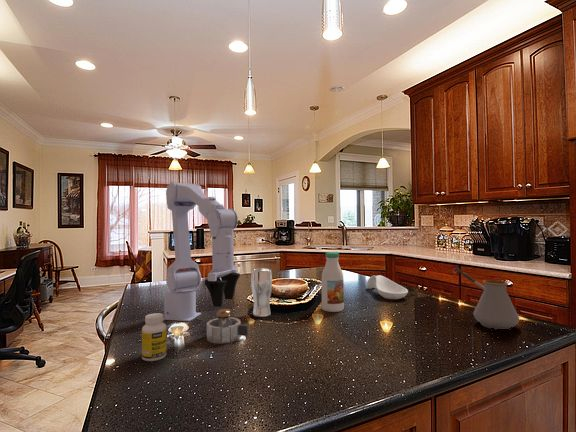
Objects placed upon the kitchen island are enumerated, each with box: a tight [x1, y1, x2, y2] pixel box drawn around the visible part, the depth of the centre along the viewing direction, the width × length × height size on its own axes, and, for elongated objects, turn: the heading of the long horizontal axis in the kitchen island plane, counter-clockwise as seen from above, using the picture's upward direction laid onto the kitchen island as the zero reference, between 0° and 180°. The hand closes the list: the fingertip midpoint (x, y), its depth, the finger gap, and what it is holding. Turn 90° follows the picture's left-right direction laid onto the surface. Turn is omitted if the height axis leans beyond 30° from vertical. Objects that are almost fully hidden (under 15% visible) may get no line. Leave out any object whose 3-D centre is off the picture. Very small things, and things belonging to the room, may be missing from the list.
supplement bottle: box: [141, 312, 168, 362], centre depth 77 cm, size 5×5×10 cm
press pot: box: [206, 316, 249, 344], centre depth 89 cm, size 11×9×4 cm
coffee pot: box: [452, 267, 520, 330], centre depth 101 cm, size 21×12×15 cm, turn 16°
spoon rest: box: [365, 274, 409, 301], centre depth 136 cm, size 24×12×7 cm, turn 14°
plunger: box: [216, 308, 231, 327], centre depth 89 cm, size 6×6×7 cm
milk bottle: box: [321, 251, 345, 313], centre depth 115 cm, size 8×8×20 cm
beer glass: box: [250, 267, 273, 318], centre depth 110 cm, size 7×7×15 cm
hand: (223, 302), depth 89 cm, fingers open, 7 cm apart
